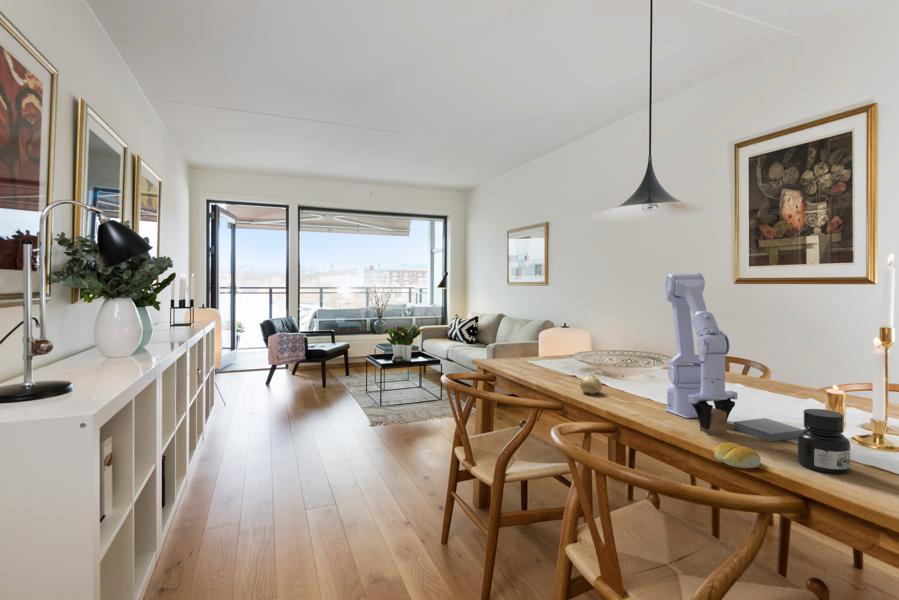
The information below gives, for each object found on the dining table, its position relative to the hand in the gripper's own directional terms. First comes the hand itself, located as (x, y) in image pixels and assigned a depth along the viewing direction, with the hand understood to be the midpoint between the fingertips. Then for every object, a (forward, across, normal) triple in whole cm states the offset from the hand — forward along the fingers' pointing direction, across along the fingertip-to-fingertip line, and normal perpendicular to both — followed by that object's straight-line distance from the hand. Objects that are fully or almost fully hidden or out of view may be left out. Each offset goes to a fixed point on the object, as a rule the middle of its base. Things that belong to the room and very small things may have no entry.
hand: (713, 426), depth 124 cm
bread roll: (+2, -11, -18) cm, 21 cm away
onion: (+2, -7, +50) cm, 51 cm away
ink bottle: (+2, +4, -26) cm, 26 cm away
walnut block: (+2, 0, 0) cm, 2 cm away
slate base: (+1, +13, -5) cm, 14 cm away
